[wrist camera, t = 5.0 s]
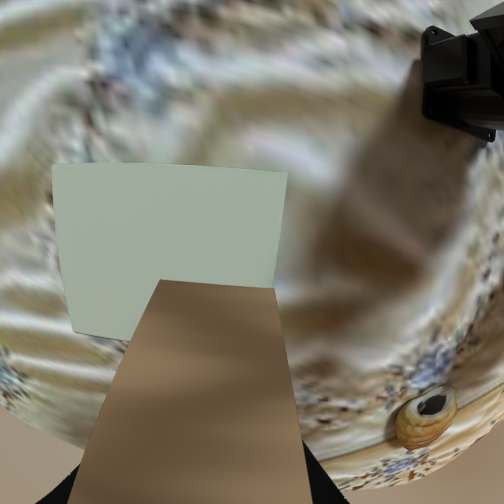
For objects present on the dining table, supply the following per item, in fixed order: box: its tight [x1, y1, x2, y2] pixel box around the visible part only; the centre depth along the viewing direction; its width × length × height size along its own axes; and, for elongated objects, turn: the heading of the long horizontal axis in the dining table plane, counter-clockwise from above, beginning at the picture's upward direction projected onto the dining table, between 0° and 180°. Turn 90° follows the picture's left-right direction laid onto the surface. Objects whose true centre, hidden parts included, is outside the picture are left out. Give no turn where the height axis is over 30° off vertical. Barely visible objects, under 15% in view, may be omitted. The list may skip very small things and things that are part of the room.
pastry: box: [395, 385, 457, 450], centre depth 25 cm, size 9×7×4 cm
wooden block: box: [67, 279, 313, 504], centre depth 7 cm, size 4×7×8 cm, turn 174°
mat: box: [52, 163, 288, 341], centre depth 18 cm, size 14×12×1 cm
